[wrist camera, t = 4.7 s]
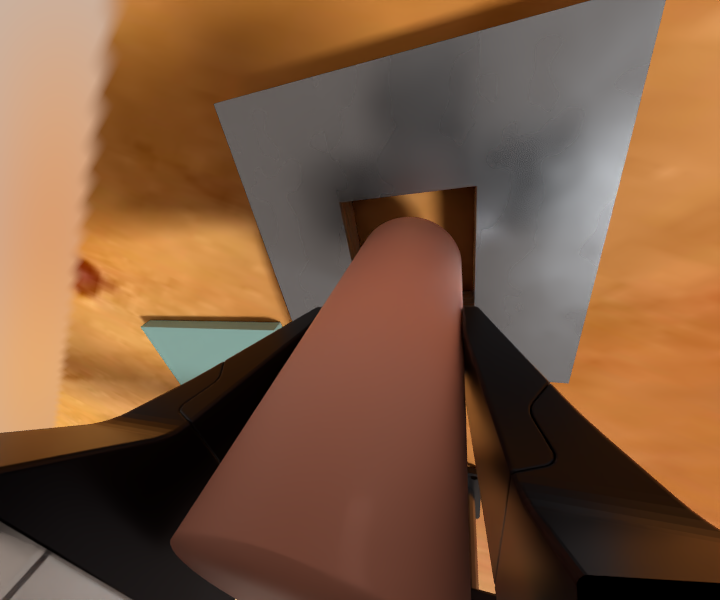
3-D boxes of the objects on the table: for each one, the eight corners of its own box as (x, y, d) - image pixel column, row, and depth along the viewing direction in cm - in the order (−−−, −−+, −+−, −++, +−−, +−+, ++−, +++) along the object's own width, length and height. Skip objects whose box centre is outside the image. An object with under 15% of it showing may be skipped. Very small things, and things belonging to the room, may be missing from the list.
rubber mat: (323, 433, 24) (319, 442, 23) (214, 417, 27) (208, 424, 27) (280, 322, 18) (274, 330, 18) (149, 320, 22) (140, 326, 21)
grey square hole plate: (559, 359, 14) (568, 383, 13) (318, 348, 19) (308, 365, 17) (638, -3, 8) (671, -23, 7) (237, 103, 12) (213, 103, 11)
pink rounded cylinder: (461, 308, 12) (470, 699, 4) (368, 308, 14) (240, 610, 6) (461, 211, 10) (477, 612, 2) (352, 222, 12) (110, 502, 3)
